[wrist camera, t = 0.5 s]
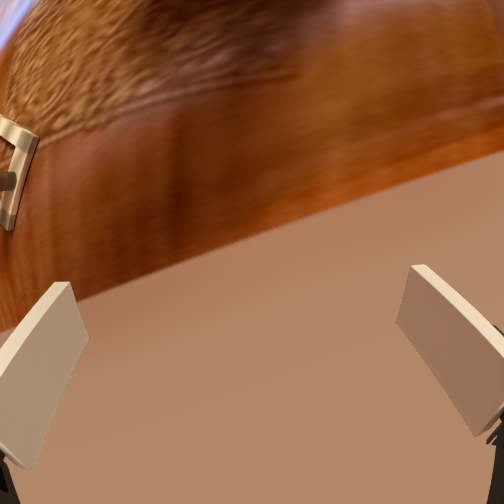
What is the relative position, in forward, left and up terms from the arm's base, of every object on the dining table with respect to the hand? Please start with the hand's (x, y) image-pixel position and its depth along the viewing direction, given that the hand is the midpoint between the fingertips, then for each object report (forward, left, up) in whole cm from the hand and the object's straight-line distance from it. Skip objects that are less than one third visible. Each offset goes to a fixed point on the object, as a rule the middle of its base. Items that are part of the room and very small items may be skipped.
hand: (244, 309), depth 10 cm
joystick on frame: (-15, -52, -25) cm, 60 cm away
